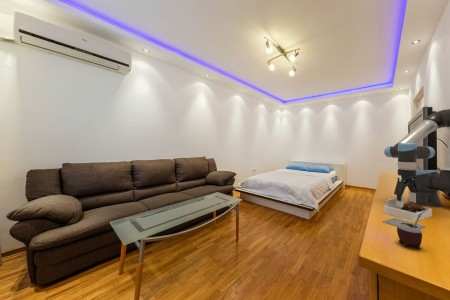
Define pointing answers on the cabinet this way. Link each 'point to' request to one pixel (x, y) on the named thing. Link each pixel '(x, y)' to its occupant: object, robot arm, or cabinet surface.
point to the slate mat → (397, 221)
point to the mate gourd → (410, 233)
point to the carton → (396, 211)
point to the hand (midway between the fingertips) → (406, 205)
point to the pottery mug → (412, 207)
